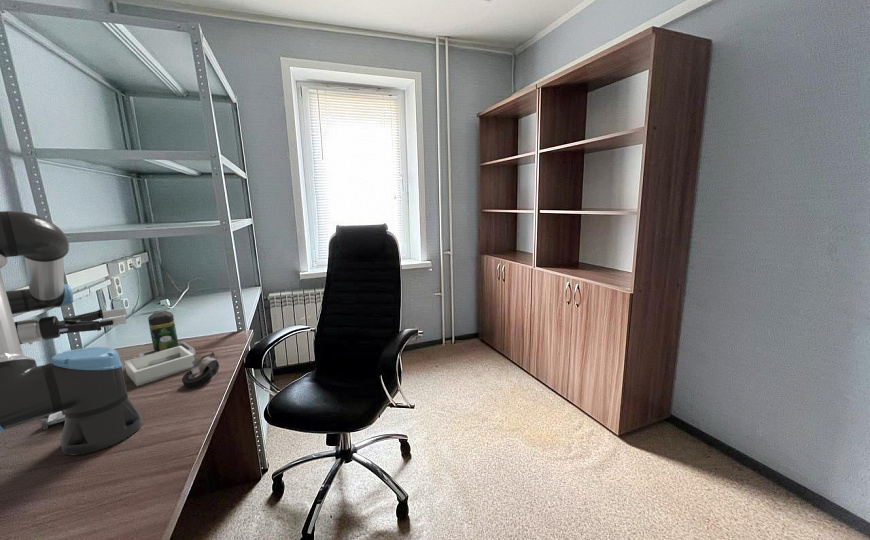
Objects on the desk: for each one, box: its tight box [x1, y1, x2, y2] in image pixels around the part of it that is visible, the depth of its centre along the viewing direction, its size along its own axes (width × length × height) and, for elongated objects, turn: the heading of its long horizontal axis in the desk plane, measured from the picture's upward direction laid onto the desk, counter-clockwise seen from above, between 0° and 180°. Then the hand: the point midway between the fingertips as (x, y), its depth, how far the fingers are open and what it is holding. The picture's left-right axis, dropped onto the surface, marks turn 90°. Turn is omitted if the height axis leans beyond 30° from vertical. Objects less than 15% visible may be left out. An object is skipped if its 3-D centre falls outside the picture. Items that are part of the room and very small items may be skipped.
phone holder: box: [41, 411, 65, 431], centre depth 99 cm, size 18×10×12 cm
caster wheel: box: [181, 352, 220, 390], centre depth 116 cm, size 7×11×10 cm
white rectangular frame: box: [138, 341, 196, 366], centre depth 137 cm, size 13×15×2 cm
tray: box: [124, 346, 196, 387], centre depth 125 cm, size 15×17×5 cm
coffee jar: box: [148, 310, 179, 353], centre depth 136 cm, size 10×8×19 cm
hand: (126, 315), depth 128 cm, fingers open, 13 cm apart
